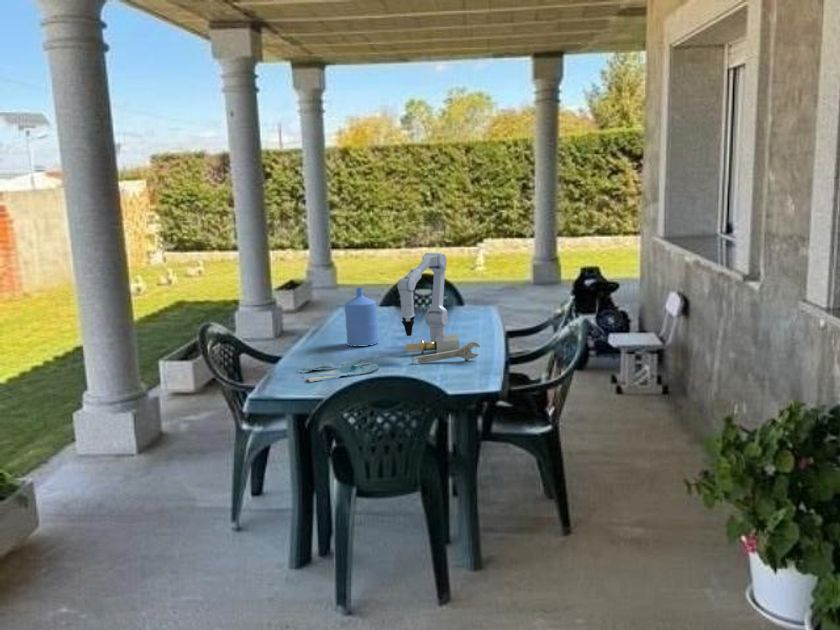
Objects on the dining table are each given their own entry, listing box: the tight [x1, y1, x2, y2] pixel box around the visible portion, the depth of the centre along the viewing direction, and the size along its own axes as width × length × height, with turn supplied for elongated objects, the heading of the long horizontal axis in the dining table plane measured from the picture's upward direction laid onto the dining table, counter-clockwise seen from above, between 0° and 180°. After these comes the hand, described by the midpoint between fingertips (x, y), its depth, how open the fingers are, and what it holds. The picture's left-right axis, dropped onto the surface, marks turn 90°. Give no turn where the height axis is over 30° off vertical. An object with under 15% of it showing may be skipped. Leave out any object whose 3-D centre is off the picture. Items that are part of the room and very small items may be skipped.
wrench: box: [411, 341, 481, 365], centre depth 332 cm, size 8×2×30 cm
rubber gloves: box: [298, 356, 380, 382], centre depth 327 cm, size 27×33×6 cm
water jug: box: [344, 287, 380, 346], centre depth 377 cm, size 16×16×28 cm
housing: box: [436, 333, 460, 353], centre depth 349 cm, size 14×10×7 cm
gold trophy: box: [405, 339, 437, 355], centre depth 349 cm, size 6×14×6 cm, turn 90°
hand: (409, 334), depth 350 cm, fingers open, 7 cm apart
